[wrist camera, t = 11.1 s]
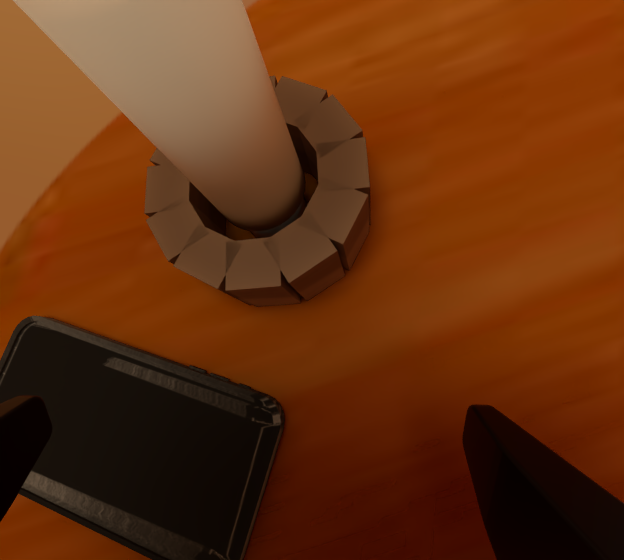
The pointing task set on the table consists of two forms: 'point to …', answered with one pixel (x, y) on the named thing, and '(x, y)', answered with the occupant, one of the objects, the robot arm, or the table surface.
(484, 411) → the robot arm
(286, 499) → the table surface
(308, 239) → the segmented block ring
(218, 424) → the phone
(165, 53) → the tapered rounded pillar
